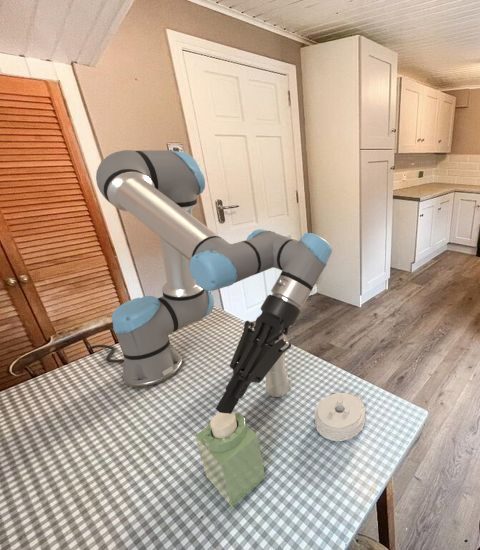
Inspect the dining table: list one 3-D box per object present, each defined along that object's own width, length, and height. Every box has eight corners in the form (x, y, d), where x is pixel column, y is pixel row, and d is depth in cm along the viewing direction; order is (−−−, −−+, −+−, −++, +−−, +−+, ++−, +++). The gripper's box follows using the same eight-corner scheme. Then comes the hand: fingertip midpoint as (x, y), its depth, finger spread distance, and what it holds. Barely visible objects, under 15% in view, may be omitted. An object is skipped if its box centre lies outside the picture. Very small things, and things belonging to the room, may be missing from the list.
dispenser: (206, 476, 64) (192, 427, 59) (238, 451, 69) (229, 403, 64) (232, 507, 58) (219, 456, 53) (265, 477, 64) (256, 427, 58)
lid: (349, 396, 85) (348, 382, 83) (374, 428, 75) (375, 412, 74) (307, 416, 79) (305, 401, 77) (329, 453, 69) (328, 437, 67)
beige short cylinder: (208, 431, 58) (205, 421, 57) (229, 416, 62) (227, 406, 61) (220, 443, 56) (217, 433, 55) (241, 427, 59) (239, 417, 58)
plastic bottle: (284, 402, 83) (276, 340, 76) (262, 398, 84) (252, 337, 77) (294, 386, 89) (288, 327, 81) (273, 382, 90) (265, 324, 83)
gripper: (254, 286, 64) (189, 393, 58) (295, 303, 57) (226, 427, 51) (277, 299, 70) (221, 398, 64) (317, 316, 63) (257, 429, 57)
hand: (223, 411), depth 57 cm, fingers closed
